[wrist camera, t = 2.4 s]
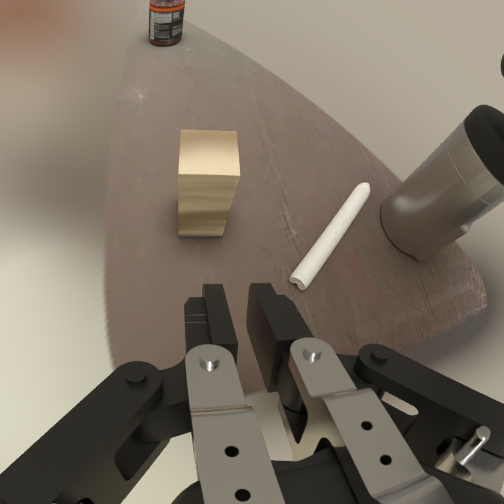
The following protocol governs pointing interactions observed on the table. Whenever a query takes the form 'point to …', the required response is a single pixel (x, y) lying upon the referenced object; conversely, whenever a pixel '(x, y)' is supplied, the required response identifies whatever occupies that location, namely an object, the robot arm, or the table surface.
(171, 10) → the supplement bottle
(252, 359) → the table surface
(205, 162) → the beech block
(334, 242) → the marker
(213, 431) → the robot arm
